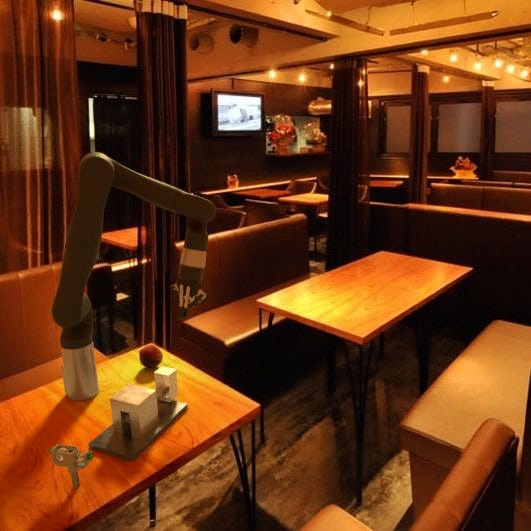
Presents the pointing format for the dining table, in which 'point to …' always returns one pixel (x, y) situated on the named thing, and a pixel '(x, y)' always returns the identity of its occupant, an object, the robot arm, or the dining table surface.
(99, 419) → the dining table surface
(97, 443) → the shaft housing
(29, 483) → the dining table surface
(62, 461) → the mechanical component
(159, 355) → the fruit
